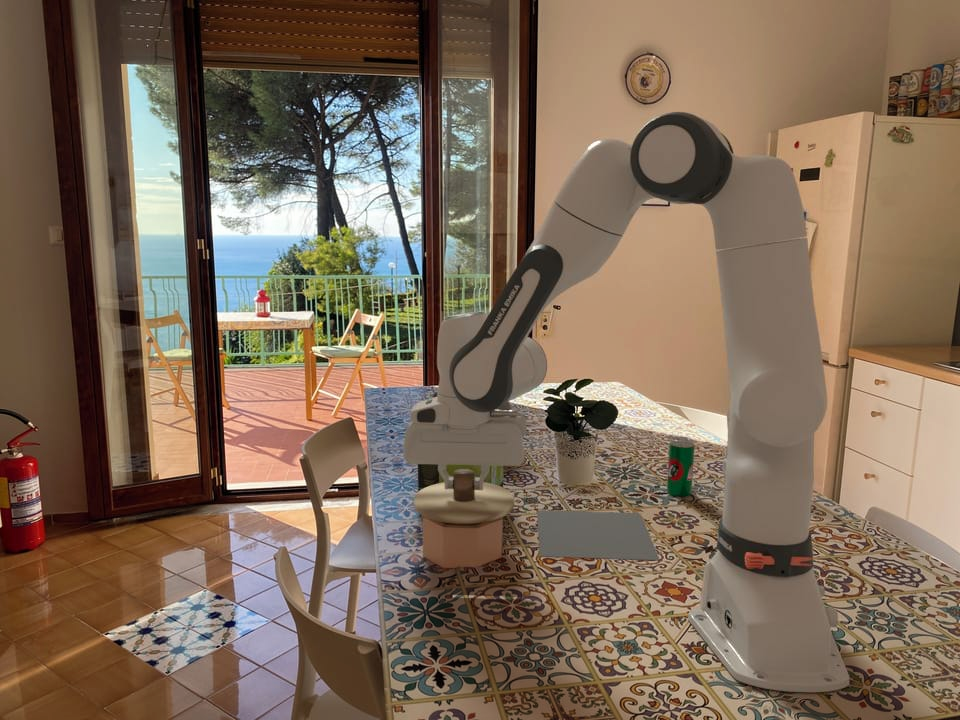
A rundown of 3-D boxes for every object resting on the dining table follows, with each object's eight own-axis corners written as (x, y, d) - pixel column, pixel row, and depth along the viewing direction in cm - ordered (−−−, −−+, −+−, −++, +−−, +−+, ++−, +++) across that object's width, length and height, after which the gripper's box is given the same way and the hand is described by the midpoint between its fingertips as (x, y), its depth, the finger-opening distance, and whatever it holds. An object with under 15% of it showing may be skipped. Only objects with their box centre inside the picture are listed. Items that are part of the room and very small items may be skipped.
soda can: (692, 499, 145) (696, 443, 143) (667, 497, 146) (670, 442, 144) (690, 491, 150) (693, 436, 148) (665, 489, 151) (668, 435, 149)
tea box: (503, 503, 143) (504, 432, 140) (491, 522, 133) (492, 447, 131) (433, 495, 147) (433, 426, 144) (416, 513, 137) (415, 440, 135)
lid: (513, 525, 111) (514, 491, 110) (406, 522, 112) (406, 489, 111) (514, 487, 128) (514, 458, 127) (421, 484, 129) (420, 455, 128)
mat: (659, 562, 118) (660, 560, 117) (539, 558, 119) (539, 556, 119) (640, 515, 137) (640, 513, 137) (537, 512, 138) (537, 510, 138)
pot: (500, 569, 114) (501, 529, 113) (419, 567, 115) (419, 526, 114) (502, 535, 127) (503, 498, 126) (430, 533, 128) (429, 496, 127)
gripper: (526, 405, 119) (525, 483, 122) (406, 403, 121) (407, 480, 123) (527, 415, 113) (525, 497, 116) (400, 412, 114) (401, 493, 117)
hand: (463, 488), depth 119 cm, fingers closed on lid, 4 cm apart
